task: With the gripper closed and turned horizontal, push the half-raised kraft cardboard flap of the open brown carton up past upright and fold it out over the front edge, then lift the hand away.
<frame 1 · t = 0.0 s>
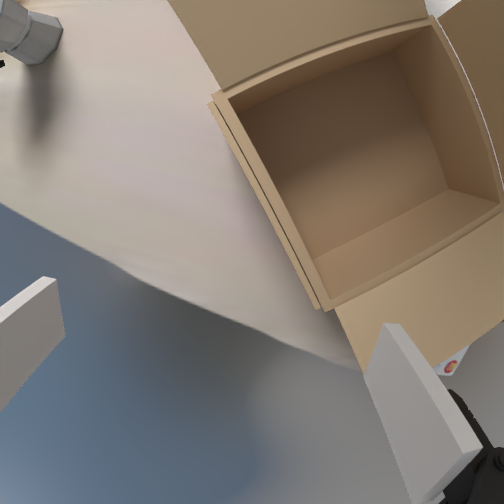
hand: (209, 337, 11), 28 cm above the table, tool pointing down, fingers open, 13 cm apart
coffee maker: (40, 47, 30), on the table
carton: (354, 150, 35), on the table
light bulb box: (420, 306, 42), on the table
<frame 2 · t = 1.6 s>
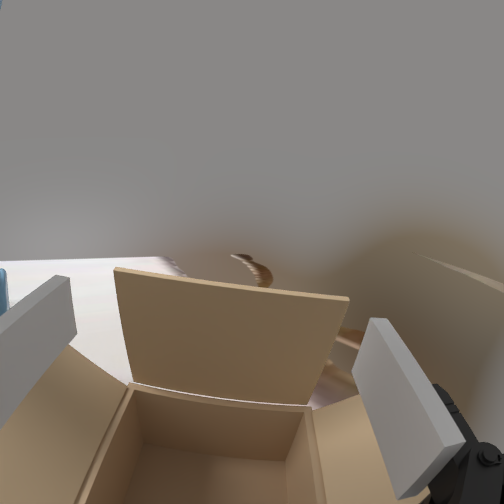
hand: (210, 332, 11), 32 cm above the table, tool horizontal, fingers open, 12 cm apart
carton flap: (223, 350, 30), point 20 cm above the table, hinge at 80.0°
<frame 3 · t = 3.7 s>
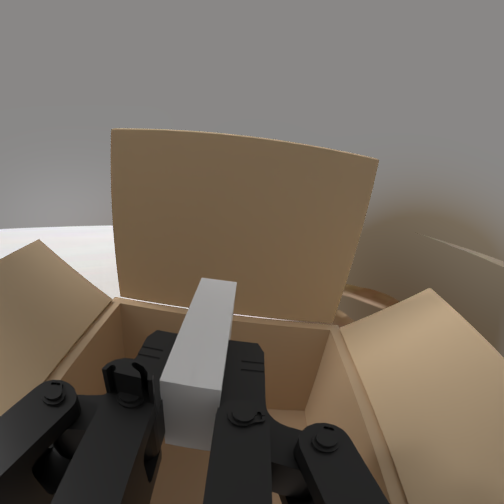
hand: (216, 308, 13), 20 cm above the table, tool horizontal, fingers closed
carton flap: (232, 233, 25), point 20 cm above the table, hinge at 80.0°
carton: (204, 489, 21), on the table
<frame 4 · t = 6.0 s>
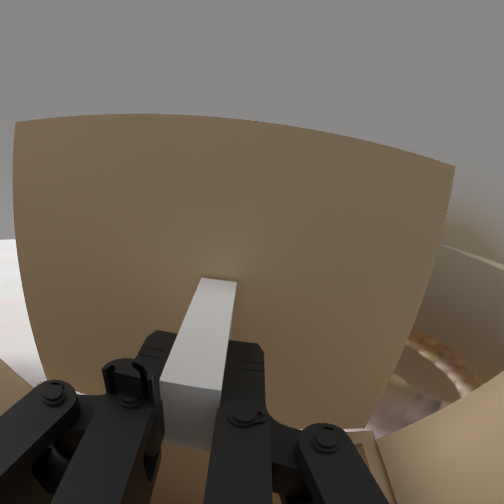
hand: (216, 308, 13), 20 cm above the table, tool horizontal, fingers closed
carton flap: (201, 302, 14), point 20 cm above the table, hinge at 89.0°, touching gripper
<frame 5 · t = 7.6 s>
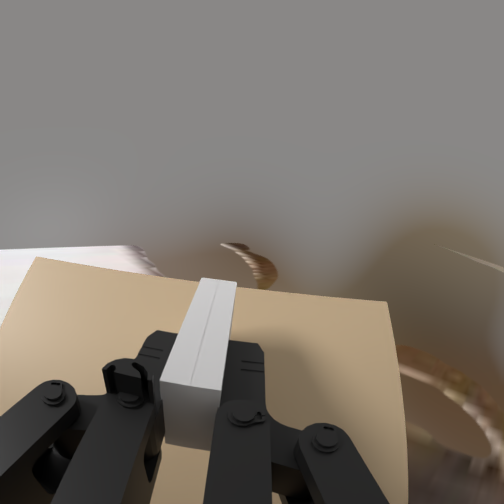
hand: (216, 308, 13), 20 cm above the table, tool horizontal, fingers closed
carton flap: (169, 437, 11), point 16 cm above the table, hinge at 150.5°
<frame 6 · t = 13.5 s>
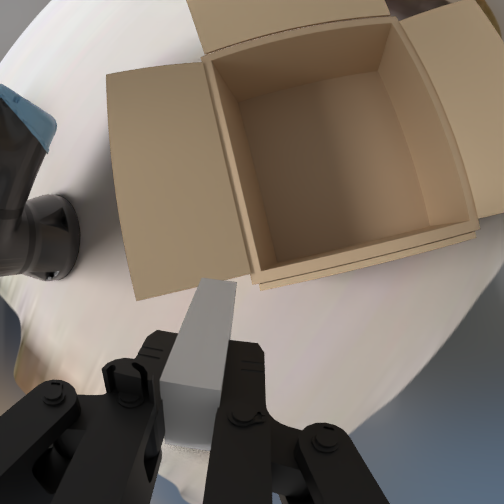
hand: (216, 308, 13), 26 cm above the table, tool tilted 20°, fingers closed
carton: (333, 158, 37), on the table
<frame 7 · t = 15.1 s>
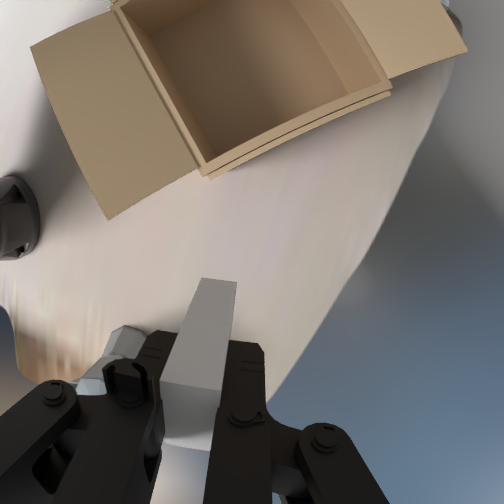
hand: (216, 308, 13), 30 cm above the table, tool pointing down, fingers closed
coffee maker: (138, 347, 50), on the table
carton: (248, 60, 36), on the table
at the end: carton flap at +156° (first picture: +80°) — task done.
